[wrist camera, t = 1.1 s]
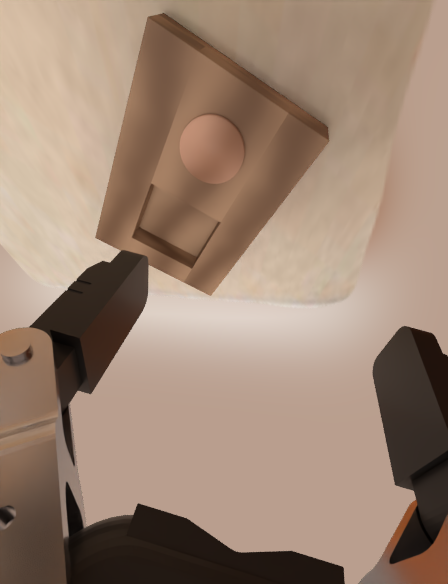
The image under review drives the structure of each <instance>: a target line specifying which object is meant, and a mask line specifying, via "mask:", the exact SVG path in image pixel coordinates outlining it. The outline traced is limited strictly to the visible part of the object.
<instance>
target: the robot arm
mask: <svg viewBox="0 0 448 584" xmlns="http://www.w3.org/2000/svg"><path fill="white" fill-rule="evenodd" d="M147 296H148V257H147V256H145V255H141V254H138V253H134V252H130V251H126V250H122V251H121V252H120V253H119V254H118V255H117V256H116V257H115V258H114V259H113V260H112V261H111V262H110V263H109V262H105V261H102V262H100V263H98V264H95V265H93V266H91V267H89V268H87V269H86V270H85V271H84V272H83V273H82V274H81V275H80V276H79V277H78V278H77V281H76V282H75V281H74V282H73V283H72V284H71V285H70V287H69V288H68V290H67V291H65V292H64V293H63V294H62V295H61V296H60V297H59V298H58V299H57V300H56V301H55V302H54V303H53V304H52V305H51V306H50V307H49V308H48V309H47V310H46V311H45V312H44V313H43V314H42V315H41V316H40V317H39V318H38V319H37V320H36V321H35V322H34V323H33V324H32V325H31V326H30V327H27V328H16V329H12V330H9V331H6V332H3V333H1V334H0V584H345V583H344V568H343V567H342V566H338V565H335V564H332V563H329V562H325V561H322V560H319V559H316V558H313V557H309V556H306V555H303V554H300V553H296V552H293V551H278V552H249V553H248V552H247V553H241V552H236V551H233V550H232V549H230V548H228V547H227V546H226V545H224V544H223V543H221V542H220V541H218V540H217V539H216V538H214V537H213V536H211V535H210V534H209V533H207V532H206V531H204V530H203V529H201V528H200V527H198V526H197V525H195V524H194V523H193V522H191V521H190V520H188V519H187V518H184V517H180V516H177V515H173V514H171V513H167V512H164V511H161V510H158V509H154V508H151V507H148V506H145V505H141V504H137V507H136V510H135V513H134V515H123V516H117V517H112V518H108V519H105V520H102V521H99V522H96V523H94V524H92V525H90V526H88V527H86V520H85V512H84V504H83V496H82V491H81V486H80V480H79V475H78V469H77V461H76V452H75V444H74V435H73V426H72V418H71V408H70V401H71V400H72V398H73V397H74V395H75V394H76V392H77V391H82V392H85V393H89V394H91V393H92V392H93V390H94V388H95V387H96V385H97V384H98V382H99V380H100V379H101V377H102V376H103V374H104V372H105V371H106V369H107V368H108V366H109V364H110V363H111V361H112V359H113V358H114V356H115V354H116V353H117V351H118V350H119V348H120V347H121V345H122V343H123V342H124V340H125V339H126V337H127V335H128V334H129V332H130V330H131V329H132V327H133V325H134V324H135V322H136V321H137V319H138V318H139V316H140V314H141V313H142V311H143V309H144V307H145V304H146V301H147ZM373 379H374V384H375V388H376V393H377V398H378V403H379V407H380V413H381V418H382V422H383V428H384V433H385V437H386V442H387V447H388V452H389V457H390V462H391V467H392V472H393V476H394V482H395V485H396V486H400V487H403V488H407V489H410V490H413V491H414V492H415V496H416V500H415V501H413V502H412V503H411V504H410V505H409V507H408V509H407V511H406V512H405V514H404V516H403V518H402V520H401V521H400V523H399V525H398V527H397V529H396V531H395V533H394V534H393V536H392V538H391V540H390V542H389V543H388V545H387V547H386V549H385V551H384V553H383V555H382V557H381V558H380V560H379V562H378V563H377V564H376V566H375V567H374V568H373V569H372V570H371V571H370V572H368V573H367V574H366V575H365V576H364V577H363V578H362V579H361V581H360V582H359V583H358V584H448V356H447V355H445V354H443V353H442V351H441V348H440V346H439V344H438V342H437V339H436V337H435V336H434V335H433V334H432V333H429V332H426V331H422V330H418V329H415V328H411V327H407V326H404V327H401V328H400V329H399V330H398V331H397V332H396V334H395V335H394V336H393V337H392V339H391V340H390V341H389V342H388V344H387V345H386V346H385V348H384V349H383V350H382V351H381V353H380V354H379V355H378V356H377V358H376V360H375V362H374V366H373Z"/></svg>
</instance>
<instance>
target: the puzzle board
mask: <svg viewBox="0 0 448 584" xmlns="http://www.w3.org/2000/svg"><path fill="white" fill-rule="evenodd" d="M328 142H329V135H328V127H327V126H325V125H324V124H322V123H321V122H320V121H318V120H317V119H315V118H314V117H312V116H311V115H309V114H308V113H307V112H305V111H304V110H302V109H301V108H299V107H298V106H297V105H295V104H294V103H292V102H291V101H289V100H288V99H286V98H285V97H284V96H282V95H281V94H279V93H278V92H276V91H275V90H273V89H272V88H271V87H269V86H268V85H266V84H265V83H263V82H262V81H261V80H259V79H258V78H256V77H255V76H253V75H252V74H250V73H249V72H248V71H246V70H245V69H243V68H242V67H240V66H239V65H238V64H236V63H235V62H233V61H232V60H230V59H229V58H227V57H226V56H225V55H223V54H222V53H220V52H219V51H217V50H216V49H214V48H213V47H212V46H210V45H209V44H207V43H206V42H204V41H203V40H202V39H200V38H199V37H197V36H196V35H194V34H193V33H191V32H190V31H189V30H187V29H186V28H184V27H183V26H181V25H180V24H178V23H177V22H176V21H174V20H173V19H171V18H170V17H168V16H167V15H166V14H164V13H163V14H158V15H154V16H150V17H148V18H147V22H146V27H145V31H144V35H143V39H142V44H141V48H140V52H139V56H138V60H137V65H136V69H135V73H134V77H133V81H132V86H131V90H130V94H129V98H128V103H127V107H126V111H125V115H124V119H123V124H122V128H121V132H120V136H119V140H118V145H117V149H116V153H115V157H114V162H113V166H112V170H111V174H110V178H109V183H108V187H107V191H106V195H105V199H104V204H103V208H102V212H101V216H100V221H99V225H98V229H97V233H96V237H95V238H97V239H99V240H101V241H103V242H105V243H107V244H109V245H111V246H113V247H115V248H117V249H119V250H121V251H122V250H126V251H130V252H134V253H138V254H141V255H145V256H147V257H148V265H150V266H152V267H154V268H156V269H158V270H160V271H162V272H164V273H166V274H168V275H170V276H172V277H174V278H176V279H178V280H180V281H182V282H184V283H186V284H188V285H190V286H192V287H194V288H196V289H198V290H200V291H202V292H204V293H206V294H208V295H210V296H211V295H212V293H213V292H214V291H215V290H216V288H217V287H218V286H219V284H220V283H221V282H222V280H223V279H224V278H225V277H226V275H227V274H228V273H229V271H230V270H231V269H232V267H233V266H234V265H235V263H236V262H237V261H238V260H239V258H240V257H241V256H242V254H243V253H244V252H245V250H246V249H247V248H248V246H249V245H250V244H251V243H252V241H253V240H254V239H255V237H256V236H257V235H258V233H259V232H260V231H261V229H262V228H263V227H264V226H265V224H266V223H267V222H268V220H269V219H270V218H271V216H272V215H273V214H274V212H275V211H276V210H277V209H278V207H279V206H280V205H281V203H282V202H283V201H284V199H285V198H286V197H287V196H288V194H289V193H290V192H291V190H292V189H293V188H294V186H295V185H296V184H297V182H298V181H299V180H300V179H301V177H302V176H303V175H304V173H305V172H306V171H307V169H308V168H309V167H310V165H311V164H312V163H313V162H314V160H315V159H316V158H317V156H318V155H319V154H320V152H321V151H322V150H323V148H324V147H325V146H326V145H327V143H328Z"/></svg>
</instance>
